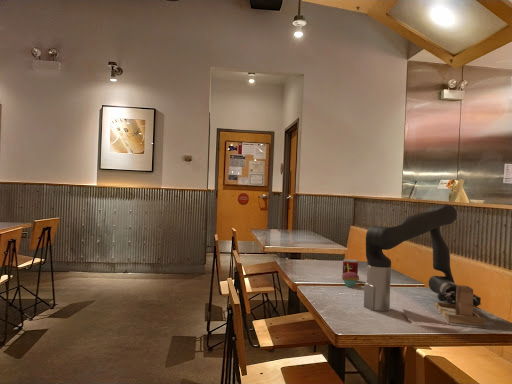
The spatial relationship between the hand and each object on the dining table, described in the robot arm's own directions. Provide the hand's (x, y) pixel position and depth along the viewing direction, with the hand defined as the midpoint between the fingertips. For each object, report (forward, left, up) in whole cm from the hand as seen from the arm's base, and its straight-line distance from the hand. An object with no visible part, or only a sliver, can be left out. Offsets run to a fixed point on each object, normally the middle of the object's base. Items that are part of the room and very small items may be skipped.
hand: (463, 302), depth 141 cm
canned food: (-4, +73, -8) cm, 73 cm away
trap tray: (+3, +6, -8) cm, 10 cm away
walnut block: (0, 0, -6) cm, 6 cm away
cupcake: (-11, +61, -8) cm, 62 cm away
